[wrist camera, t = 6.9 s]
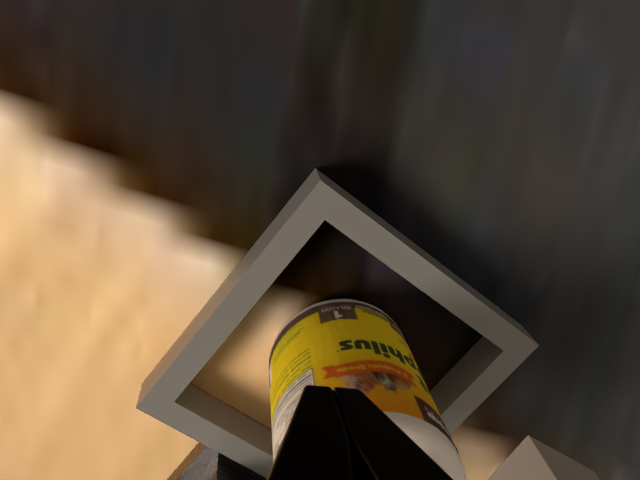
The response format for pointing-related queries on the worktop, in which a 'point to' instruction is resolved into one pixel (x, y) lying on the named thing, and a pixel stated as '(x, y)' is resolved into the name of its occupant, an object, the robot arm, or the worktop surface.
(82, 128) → the worktop surface
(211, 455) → the clip post
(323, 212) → the collar
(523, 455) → the bar
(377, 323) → the supplement bottle
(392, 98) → the worktop surface
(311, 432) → the robot arm
